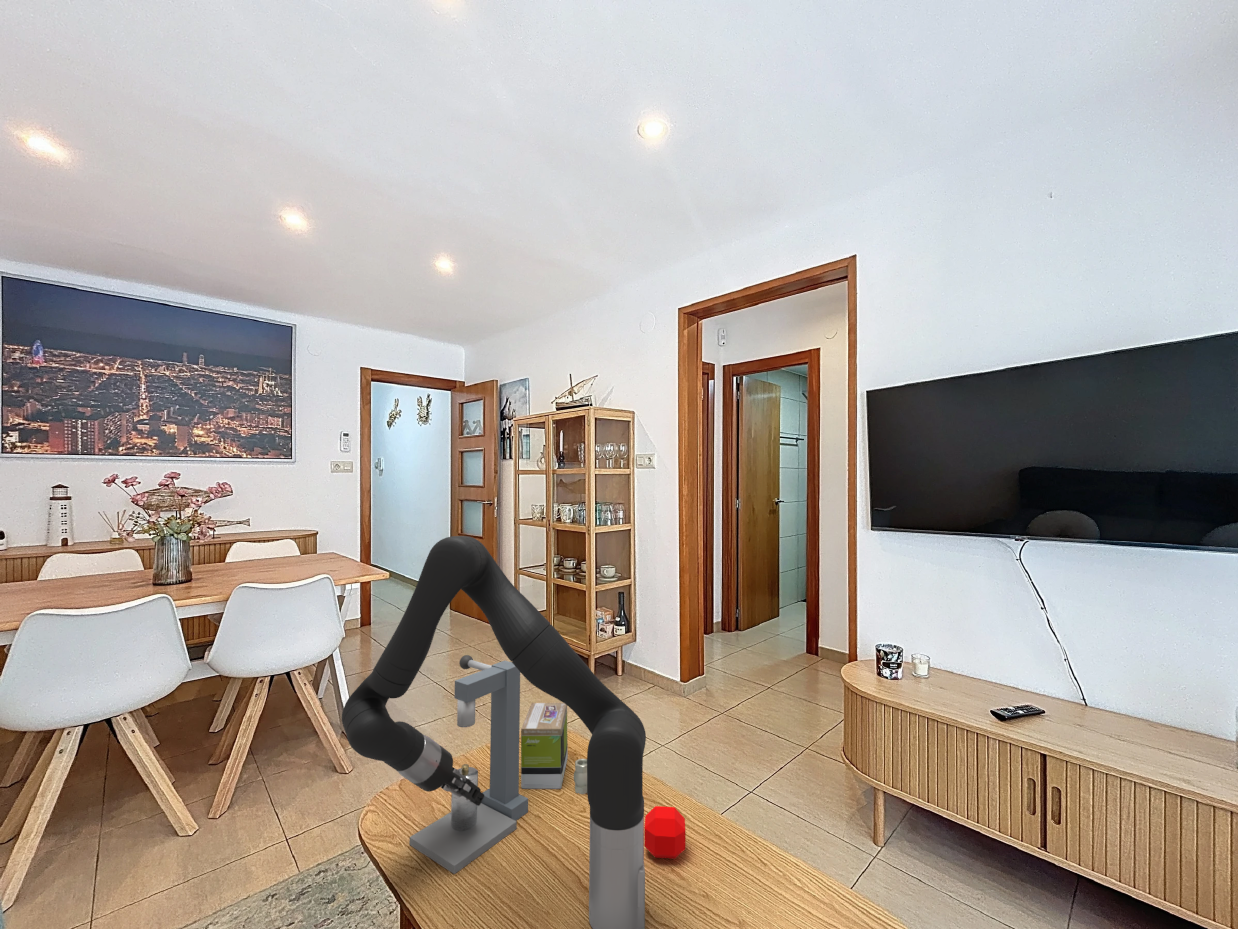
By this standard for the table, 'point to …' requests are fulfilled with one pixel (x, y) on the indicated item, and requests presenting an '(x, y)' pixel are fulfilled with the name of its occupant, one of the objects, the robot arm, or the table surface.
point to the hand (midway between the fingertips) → (471, 795)
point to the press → (503, 794)
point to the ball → (665, 832)
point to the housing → (464, 804)
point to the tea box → (544, 746)
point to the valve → (580, 776)
